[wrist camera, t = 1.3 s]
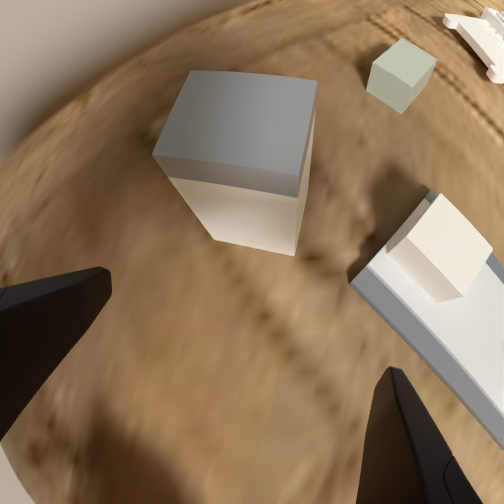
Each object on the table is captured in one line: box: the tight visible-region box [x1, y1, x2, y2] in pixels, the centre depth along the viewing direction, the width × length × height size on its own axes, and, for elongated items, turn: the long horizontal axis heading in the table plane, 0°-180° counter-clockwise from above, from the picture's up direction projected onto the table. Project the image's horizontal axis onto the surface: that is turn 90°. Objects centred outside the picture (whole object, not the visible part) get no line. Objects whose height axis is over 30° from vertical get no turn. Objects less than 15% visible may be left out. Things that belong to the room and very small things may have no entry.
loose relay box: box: [366, 38, 437, 114], centre depth 24 cm, size 6×4×4 cm, turn 137°
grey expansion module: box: [152, 70, 317, 256], centre depth 18 cm, size 5×6×12 cm
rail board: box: [349, 190, 504, 450], centre depth 17 cm, size 10×21×6 cm, turn 43°
